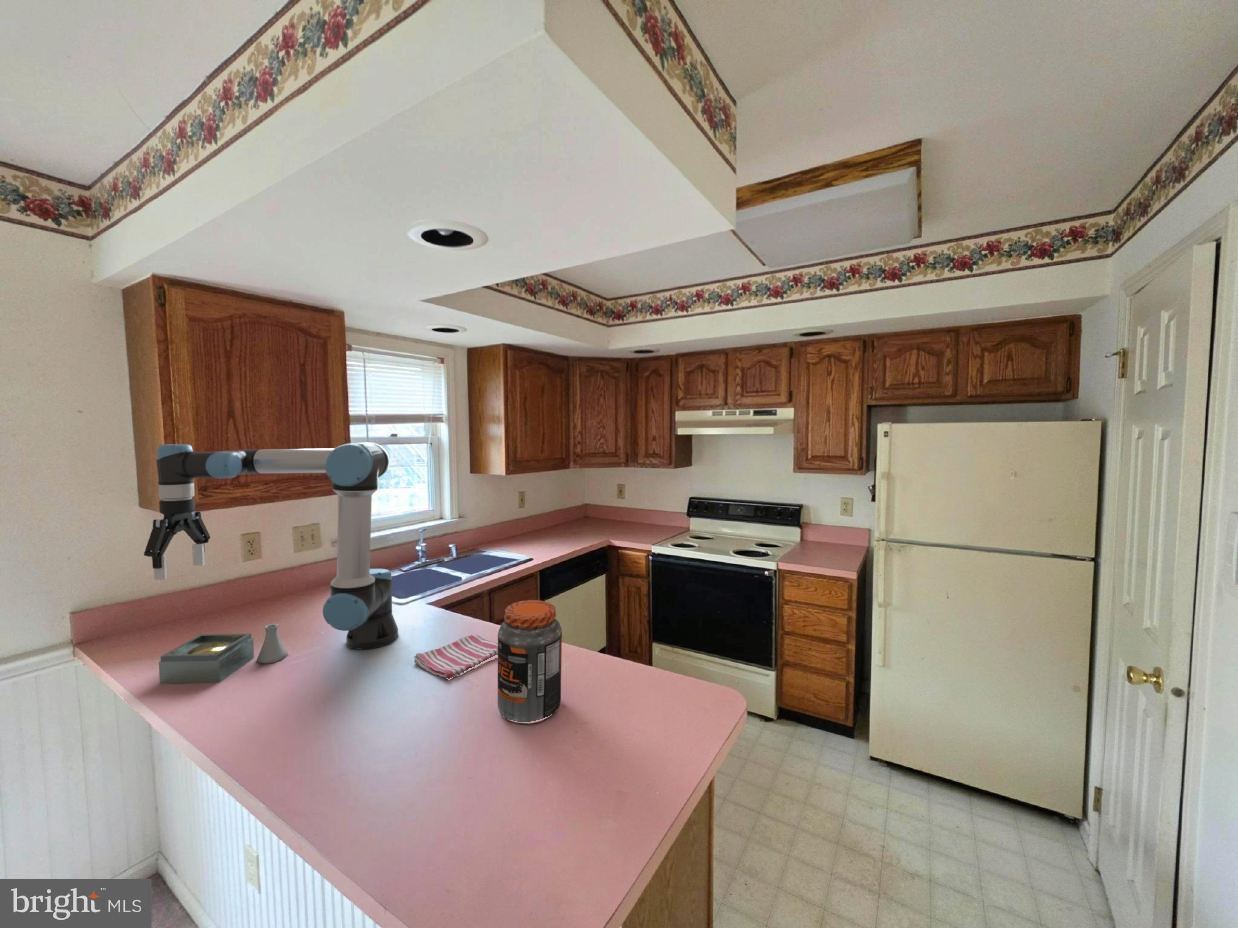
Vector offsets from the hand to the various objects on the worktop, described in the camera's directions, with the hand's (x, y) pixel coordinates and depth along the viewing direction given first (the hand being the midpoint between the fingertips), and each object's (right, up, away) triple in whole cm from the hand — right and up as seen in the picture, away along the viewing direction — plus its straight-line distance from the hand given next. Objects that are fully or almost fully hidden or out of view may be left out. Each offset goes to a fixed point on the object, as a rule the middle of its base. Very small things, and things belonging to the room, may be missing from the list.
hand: (180, 572), depth 140 cm
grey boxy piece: (+10, -27, -2) cm, 29 cm away
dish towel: (+78, -29, +8) cm, 84 cm away
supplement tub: (+103, -31, -18) cm, 109 cm away
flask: (+23, -27, +5) cm, 36 cm away
